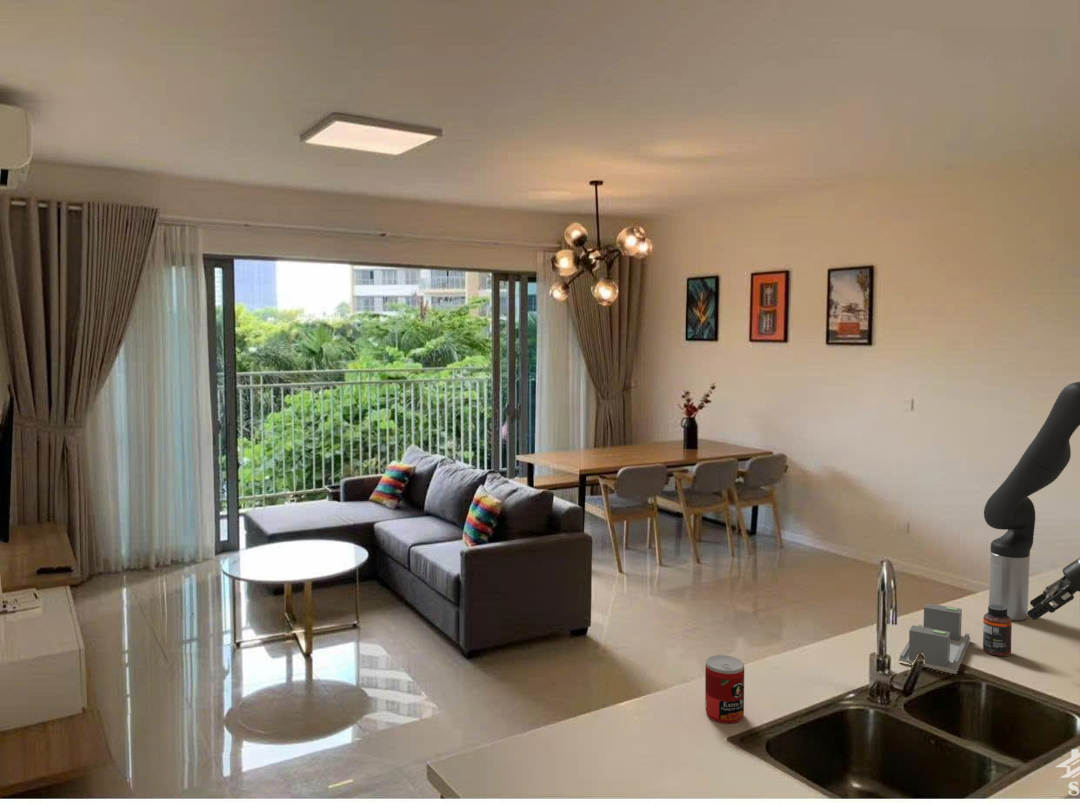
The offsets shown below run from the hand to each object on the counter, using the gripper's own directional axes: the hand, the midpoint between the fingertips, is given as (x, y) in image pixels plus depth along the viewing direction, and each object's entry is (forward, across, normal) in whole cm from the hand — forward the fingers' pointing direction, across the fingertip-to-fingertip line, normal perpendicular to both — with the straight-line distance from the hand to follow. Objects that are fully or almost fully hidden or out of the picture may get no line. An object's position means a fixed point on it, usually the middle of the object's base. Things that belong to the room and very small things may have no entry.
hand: (1031, 611), depth 184 cm
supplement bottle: (+13, 0, +4) cm, 14 cm away
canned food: (+43, +67, -26) cm, 84 cm away
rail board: (+22, +8, -5) cm, 24 cm away
